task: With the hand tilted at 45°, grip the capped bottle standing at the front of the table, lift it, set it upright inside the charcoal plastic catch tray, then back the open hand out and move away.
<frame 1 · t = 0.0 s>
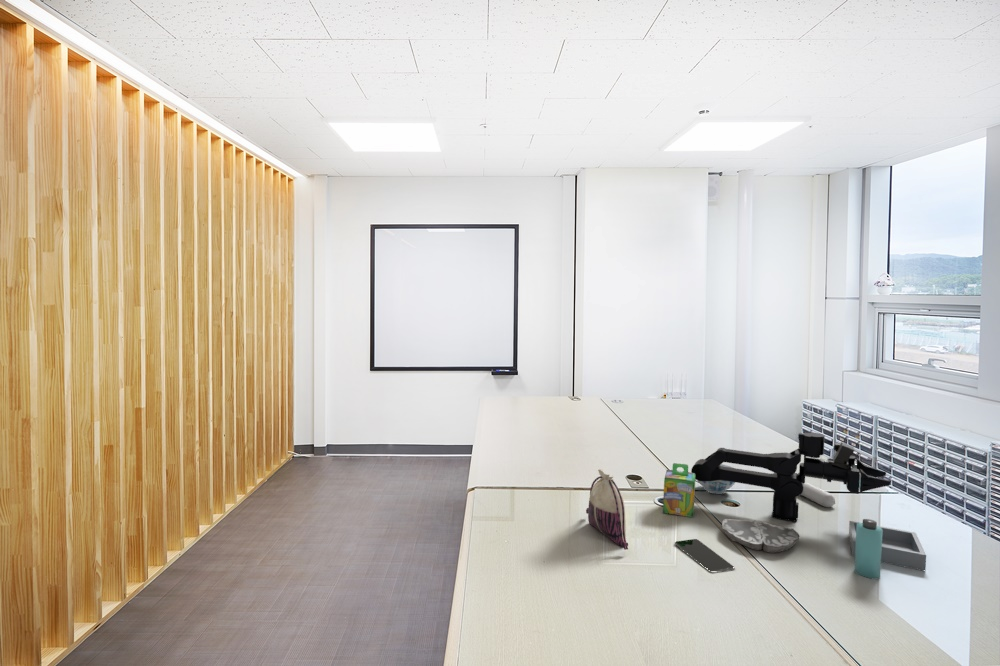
hand: (887, 478, 149), 17 cm above the table, tool horizontal, fingers open, 9 cm apart
tube: (803, 495, 182), on the table
pouch: (606, 535, 149), on the table
capped bottle: (867, 573, 129), on the table
smartphone: (703, 558, 137), on the table
chalk box: (679, 511, 167), on the table
catch tray: (884, 551, 140), on the table
brain slice: (760, 543, 145), on the table
chinaware: (714, 491, 185), on the table
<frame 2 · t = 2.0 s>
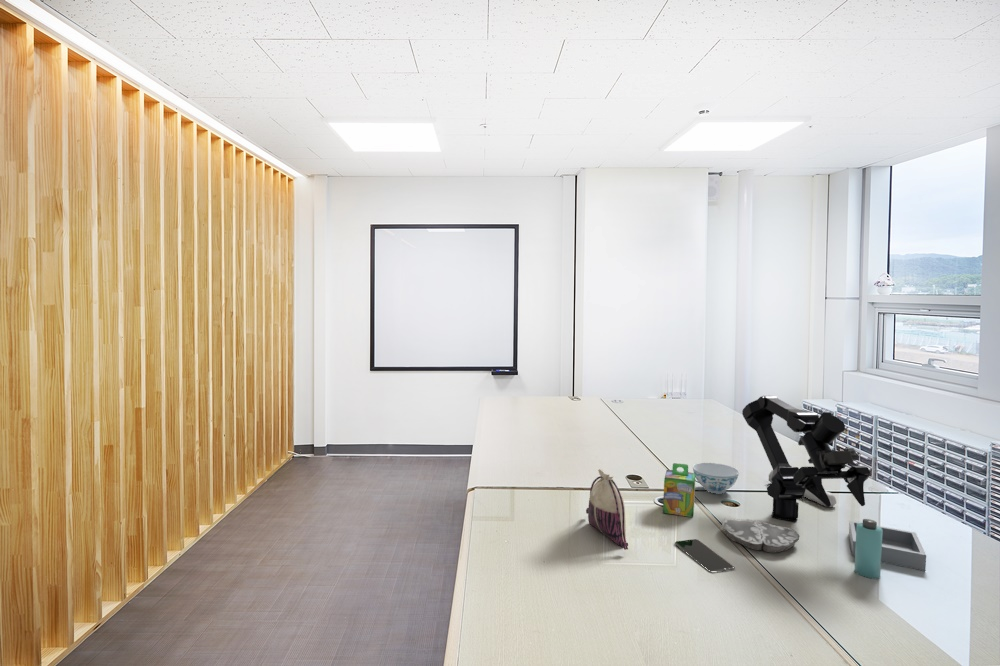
hand: (846, 505, 136), 14 cm above the table, tool tilted 45°, fingers open, 9 cm apart
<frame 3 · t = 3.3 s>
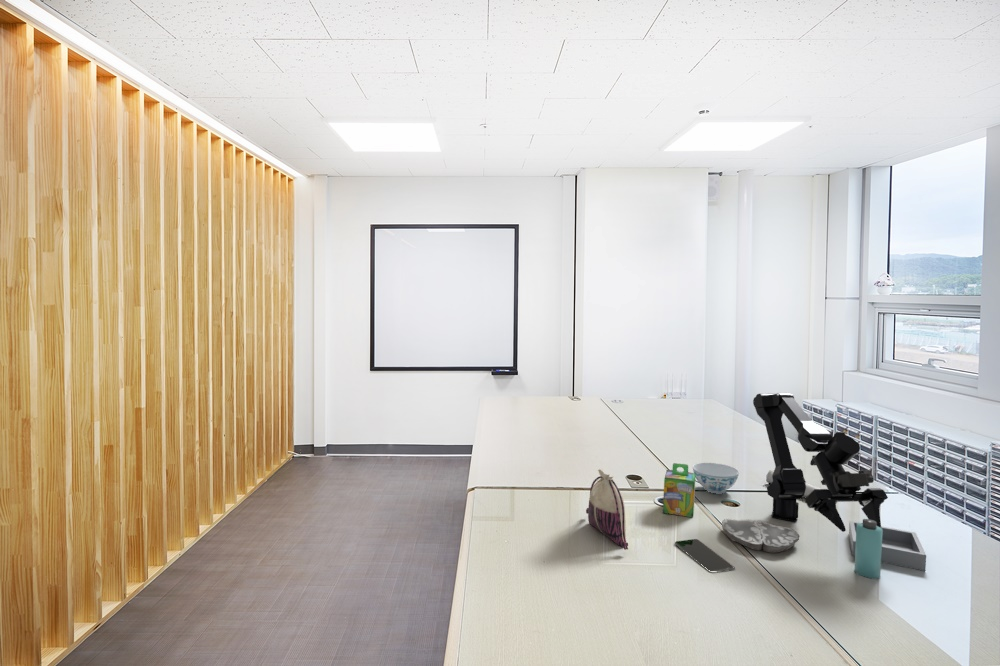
hand: (862, 530, 130), 10 cm above the table, tool tilted 45°, fingers open, 9 cm apart
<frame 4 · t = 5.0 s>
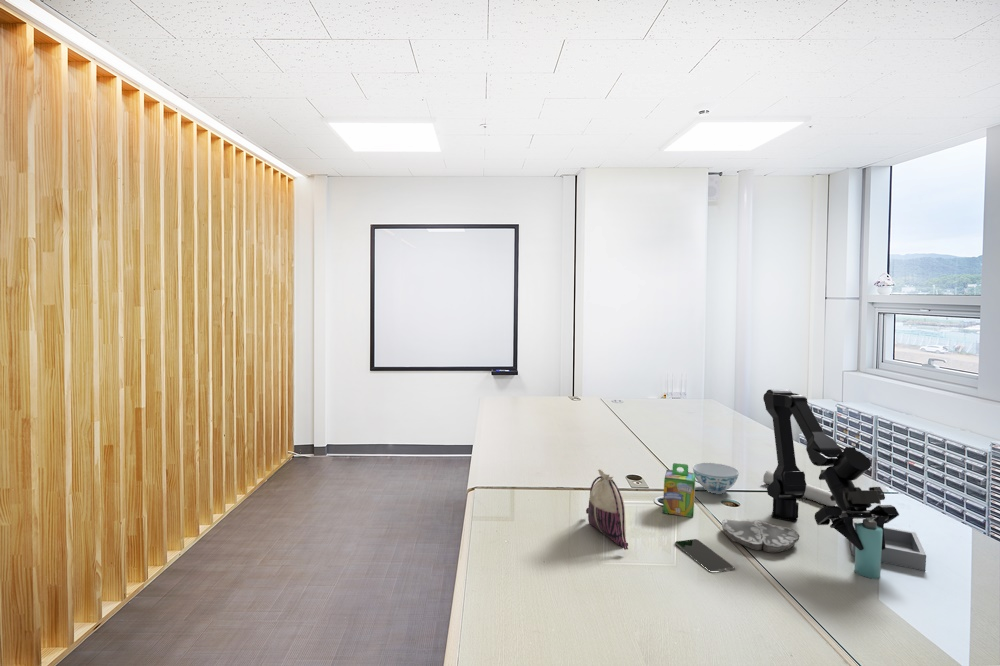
hand: (872, 549, 127), 7 cm above the table, tool tilted 45°, fingers closed on capped bottle, 5 cm apart
capped bottle: (867, 573, 129), on the table, touching gripper
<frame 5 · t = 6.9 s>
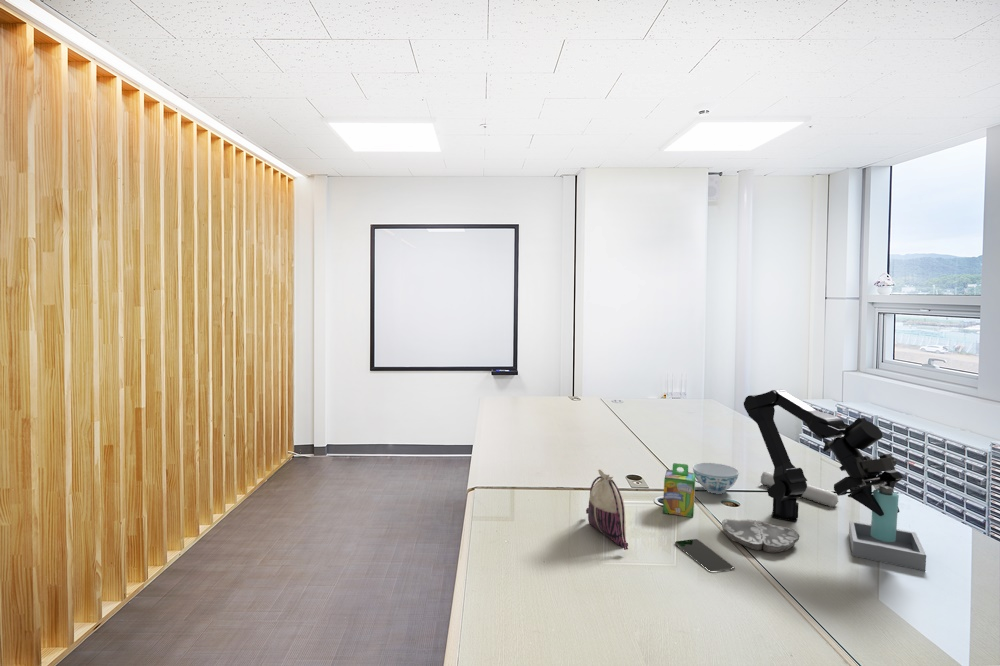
hand: (890, 514, 132), 13 cm above the table, tool tilted 45°, fingers closed on capped bottle, 5 cm apart
capped bottle: (883, 537, 134), point 6 cm above the table, touching gripper
when the fingers open (8 cm above the table, at t = 8.9 s): capped bottle drops 1 cm, resting on catch tray.
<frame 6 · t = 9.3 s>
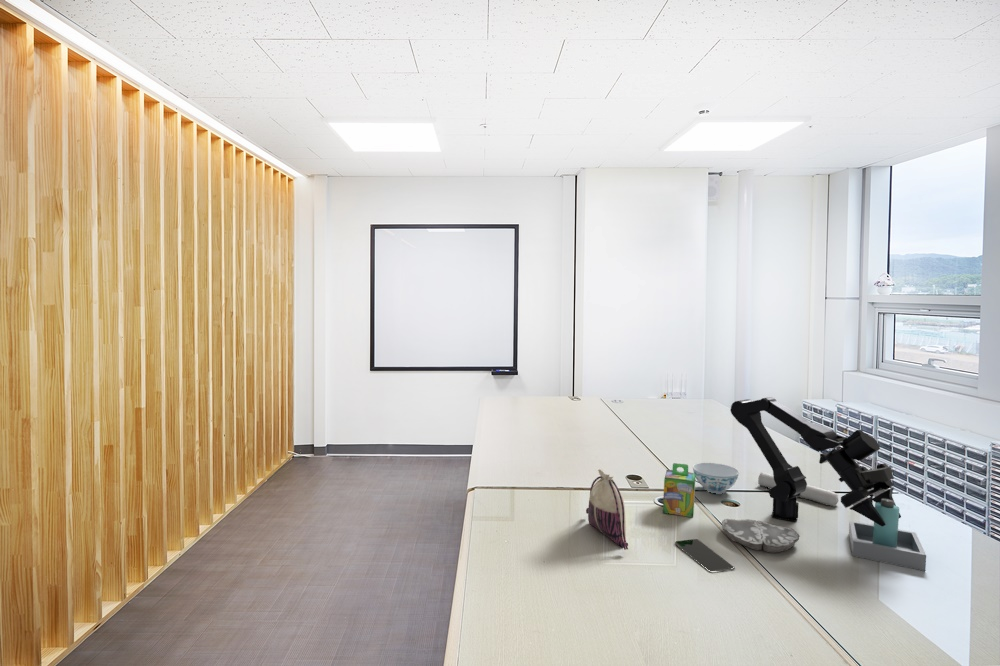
hand: (891, 521, 138), 9 cm above the table, tool tilted 45°, fingers open, 9 cm apart
capped bottle: (884, 548, 140), point 1 cm above the table, touching catch tray
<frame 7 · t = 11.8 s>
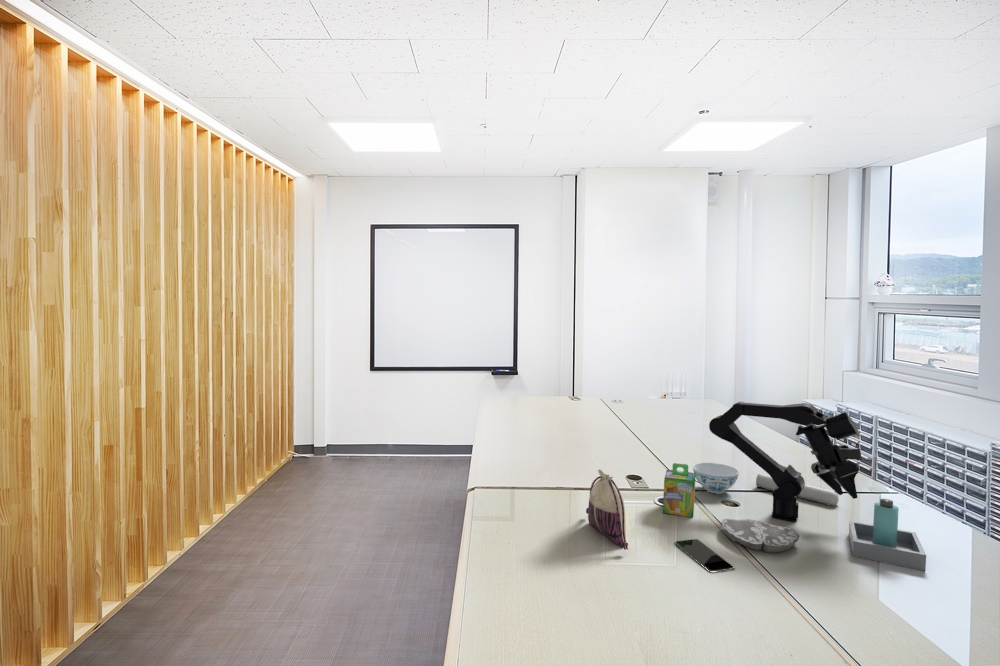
hand: (848, 496, 152), 10 cm above the table, tool tilted 30°, fingers open, 9 cm apart
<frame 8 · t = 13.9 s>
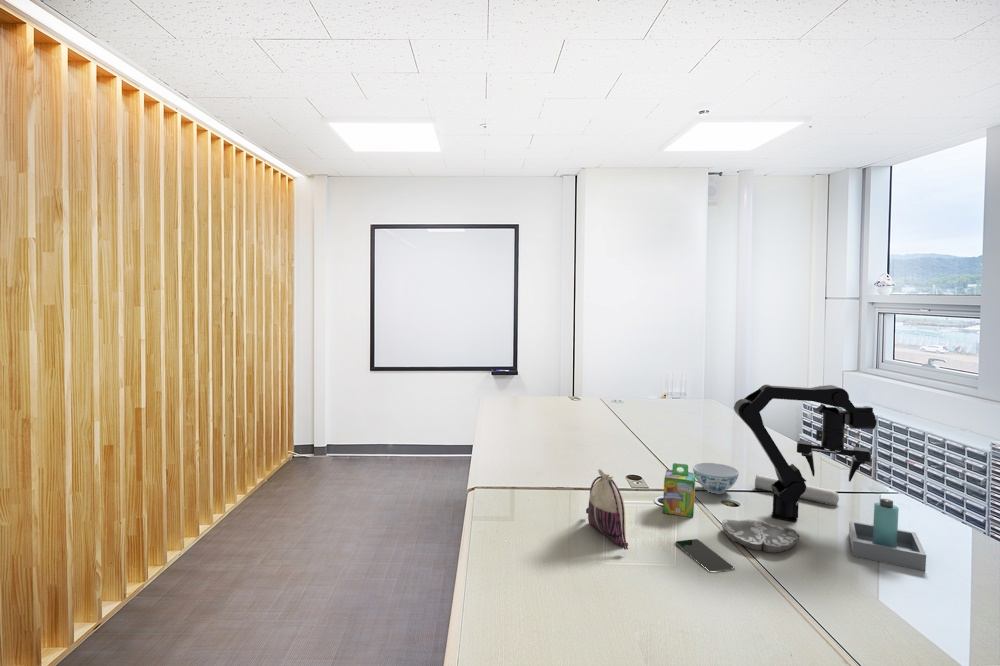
hand: (831, 478, 159), 13 cm above the table, tool pointing down, fingers open, 9 cm apart
at the end: capped bottle inside the target area on the catch tray (0.0 cm from its centre), point 0.8 cm above the catch tray's base; capped bottle tilted 0°; the gripper is holding nothing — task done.
